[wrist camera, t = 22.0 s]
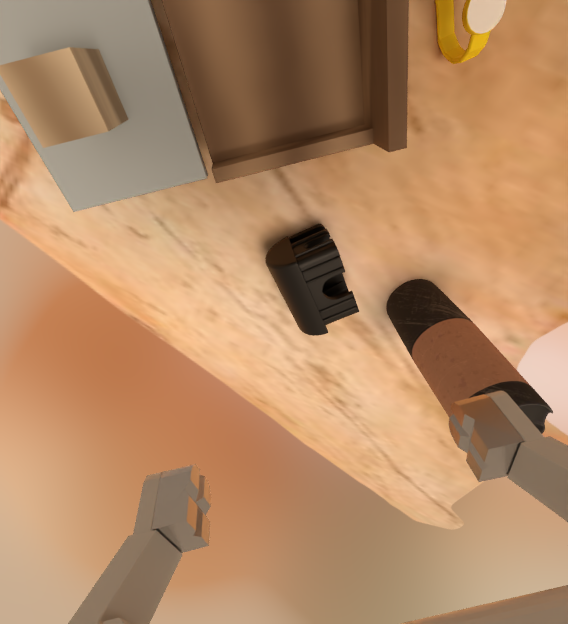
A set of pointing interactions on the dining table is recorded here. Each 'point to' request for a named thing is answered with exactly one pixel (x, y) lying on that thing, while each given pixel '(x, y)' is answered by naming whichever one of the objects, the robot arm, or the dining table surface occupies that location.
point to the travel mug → (456, 351)
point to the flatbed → (293, 77)
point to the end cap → (311, 279)
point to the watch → (467, 26)
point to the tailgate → (131, 90)
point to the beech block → (65, 94)
